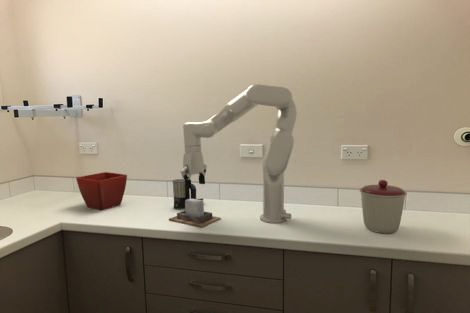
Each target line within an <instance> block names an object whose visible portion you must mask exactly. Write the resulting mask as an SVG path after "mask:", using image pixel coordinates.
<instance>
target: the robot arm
mask: <svg viewBox="0 0 470 313" xmlns="http://www.w3.org/2000/svg"><path fill="white" fill-rule="evenodd" d="M257 106H268V107H275V108H276V110H277V116H276V119H275V124H274V127H273V128H272V129H273V130H272V133H271V135H270V138H269V142H270V145H269V148H268V151H267V153H266V154H265V155H264V156H263V159H262V182H263V183H262V184H263V186H262V188H263V190H262V193H263V194H262V198H263V199H262V201H263V202H262V205H263V208H262V210H263V211H262V212H263V214H261V215H260V216H259V219H260V221H262V222H265V223H270V224H281V223H284V222H286V221H288V219H289V220H292V218H293V217H292V213H289V212H287V210H286V209H285V198H284V197H285V176H284V175H285V174H284V173H285V171H286V169H287V168H288V164H289V161H290V159H291V155H292V152H293V151H292V150H293V148H294V140H295V139H294V135H293V131H294V127H295V123H296V120H297V114H298V113H297V107H296V103H295V102H294V100H293V94H292V91H290V89H288V88H287V87H283V86H275V85H268V84H267V85H266V84H260V83H259V84H256V83H254V84H251V85H250V86H248V87H247V88H246V89H245V90H244V91H243V92H241V93H240V94H239V95H237V96H236V97H235V98H233V99H232V100H230V101H229V102H227V103H226V104H225V105H224V106H223V108H222V109H220V111H219V112H217V113H216V114H214V115H213V116H212V117H210V118H209V119H207V120H205V121H200V122H197V121H192V122H190V121H189V122H184V123H183V125H182V128H183V142H184V145H183V146H184V153H183V155H182V156H183V158H182V159H183V160H182V169H181V171H180V174H181V177H182V179H184V180H185V188H189V189H190V188H191V184H192V179H191V178H192V176H194V175H198V183H199V185H205V184H206V180H205V179H206V178H205V176H206V172H207V168H208V165H207V164H205V163H204V157H203V156H204V155H203V152H202V143H201V142H202V140H201V139H202V138H206V139H208V138H212V137H214V136H215V135H216V134H218V133H219V132H220V131H222V130H223V129H225V128H226V127H227V126H228V125H230V124H233V122H236V121H238V120H239V119H241V118H242V117H244V115H246V114H247V113H249V112H251V111H252V109H254V108H256V107H257Z"/></svg>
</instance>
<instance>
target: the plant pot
mask: <svg viewBox="0 0 470 313" xmlns="http://www.w3.org/2000/svg"><path fill="white" fill-rule="evenodd" d="M75 179H76V183H77V187H78V189H79V192H80V196H82V199H83V201H84V204H85V206H86V207H87V208H90V209H94V210H99V211H104V210H107V209H110V208H113V207H116V206H120V205H122V202H123V198H124V195H125V191H126V186H127V180H128V174H123V173H116V172H109V171H108V172H107V171H104V172H98V173H93V174H88V175H82V176H77V177H76V178H75Z"/></svg>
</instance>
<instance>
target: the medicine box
mask: <svg viewBox="0 0 470 313" xmlns="http://www.w3.org/2000/svg"><path fill="white" fill-rule="evenodd" d="M197 199H198V198H196V199H191V198H190V199H188V200H185V209H184V211H185V214H187V215H192V216H197V217H201V216H203V215H204V211H205V209H204V199H203V200H197Z"/></svg>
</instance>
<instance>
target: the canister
mask: <svg viewBox="0 0 470 313" xmlns="http://www.w3.org/2000/svg"><path fill="white" fill-rule="evenodd" d="M388 184H389V183H388V181H387V180H385V179H380V180H378V184H367V185H365V186H363V187H361V188H360V189H359V192H360V196H361V205H362V206H361V209H362V218H363V223H364V226H365V227H366V229H368V230H370V231H372V232H376V233H378V234H379V233H381V234H392V233H395V232H397V231H398V230H399V228H400V225H401V220H402V216H403V210H404V204H405V197H406V196H407V194H408V193H407V191H405V190H404V189H402V188H401V187H398V186H394V185H388Z"/></svg>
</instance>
